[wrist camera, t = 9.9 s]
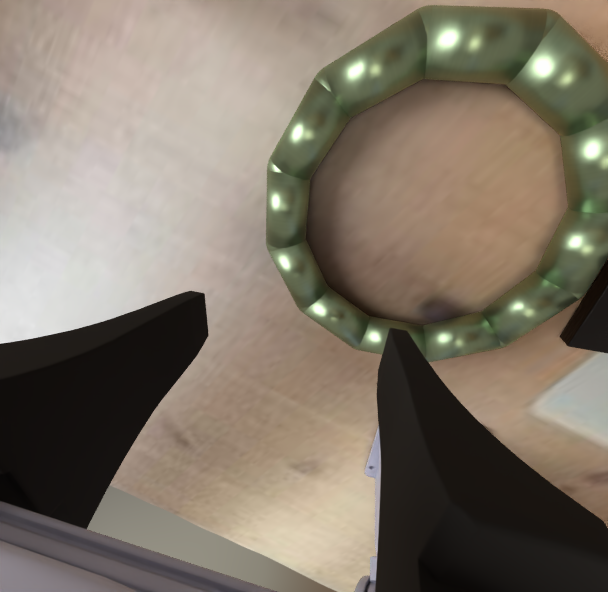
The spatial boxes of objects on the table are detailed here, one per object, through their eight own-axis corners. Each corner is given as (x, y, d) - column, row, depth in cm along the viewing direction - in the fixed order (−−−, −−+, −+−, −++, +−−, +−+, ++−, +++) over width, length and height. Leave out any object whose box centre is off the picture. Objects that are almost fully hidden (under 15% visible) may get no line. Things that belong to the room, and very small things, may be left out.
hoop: (519, 366, 21) (535, 392, 19) (270, 319, 23) (259, 337, 21) (716, 26, 12) (788, 4, 10) (278, 10, 14) (262, -10, 12)
